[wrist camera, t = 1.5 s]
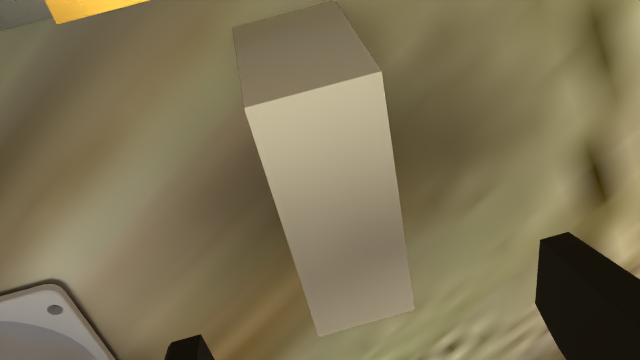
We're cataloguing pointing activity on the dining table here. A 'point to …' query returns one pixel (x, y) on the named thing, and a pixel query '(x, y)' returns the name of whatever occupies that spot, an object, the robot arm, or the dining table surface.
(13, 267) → the dining table surface
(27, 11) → the rack
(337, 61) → the tall cream block
